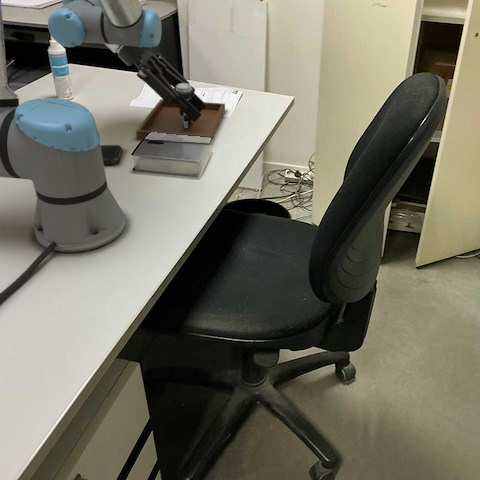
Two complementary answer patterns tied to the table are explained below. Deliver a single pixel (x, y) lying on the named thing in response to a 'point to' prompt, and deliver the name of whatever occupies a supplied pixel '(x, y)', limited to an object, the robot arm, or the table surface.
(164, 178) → the table surface
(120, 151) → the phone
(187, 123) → the push button
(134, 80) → the table surface
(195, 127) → the tray
